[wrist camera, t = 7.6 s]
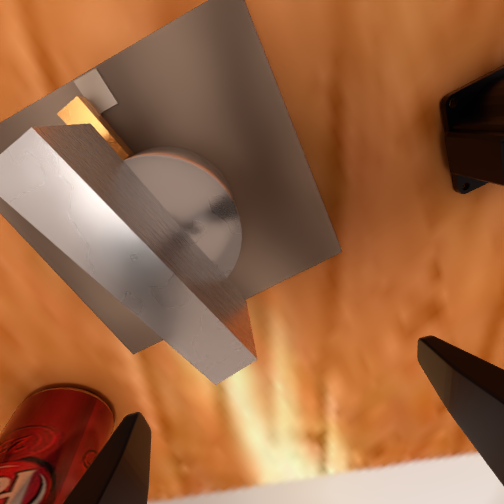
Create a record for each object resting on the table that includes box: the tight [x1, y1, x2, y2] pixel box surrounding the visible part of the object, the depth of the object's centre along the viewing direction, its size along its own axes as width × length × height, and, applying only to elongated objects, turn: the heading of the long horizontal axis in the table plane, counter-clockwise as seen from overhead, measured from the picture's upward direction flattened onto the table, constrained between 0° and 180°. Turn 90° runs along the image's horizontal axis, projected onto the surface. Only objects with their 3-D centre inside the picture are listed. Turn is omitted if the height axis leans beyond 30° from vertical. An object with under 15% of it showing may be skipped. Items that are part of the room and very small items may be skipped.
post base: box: [0, 0, 342, 354], centre depth 18 cm, size 16×15×2 cm
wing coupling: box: [0, 96, 257, 385], centre depth 13 cm, size 12×7×8 cm, turn 34°
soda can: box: [0, 387, 114, 504], centre depth 19 cm, size 7×7×12 cm
